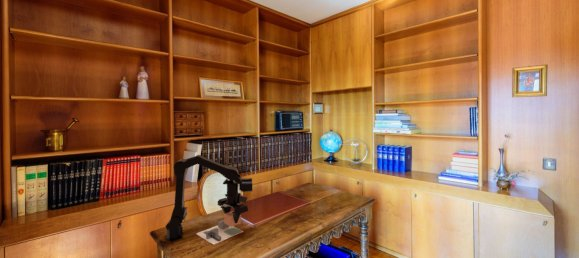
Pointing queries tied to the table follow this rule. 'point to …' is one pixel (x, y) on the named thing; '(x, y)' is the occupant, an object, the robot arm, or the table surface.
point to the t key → (213, 234)
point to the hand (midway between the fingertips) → (232, 221)
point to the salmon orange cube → (231, 219)
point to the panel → (221, 232)
